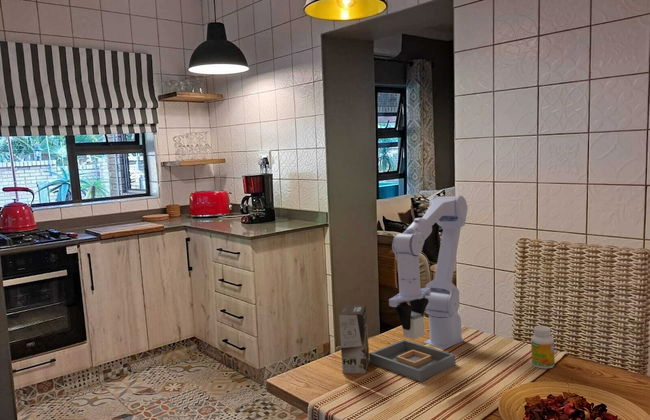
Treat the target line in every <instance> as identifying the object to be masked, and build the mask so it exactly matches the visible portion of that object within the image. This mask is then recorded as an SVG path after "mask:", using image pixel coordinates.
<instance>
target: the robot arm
mask: <svg viewBox="0 0 650 420" xmlns="http://www.w3.org/2000/svg"><path fill="white" fill-rule="evenodd" d="M428 202H429V203H428V209H427V210H426V212H425V213H424V214H423V215H422V217H415V218H414V219H413V222H411V224H410V225H409V226H408V227H407V228H406V229H405V230H404V231H403V232H402V233H401V232H399V233H397V234H396V235H395V236H394V237H393V240H392V244H391V249H392V252H393V253H394V257H395V258H394V259H395V261H396V262H397V274H398V278H397V279H398V290H399V291H398V292H399V293H397V294H396V295H394V296H393V297H391V298H389V299H388V307H392V308H393V309H394V310H395V312H396V313H397V315H398V318H399V320H400V324H401V327H402V330H403V329H406V330H410V326H411V312H416V313H420V314H421V315H422V316H423V317H424V315H425V314H427V315H428V326H429V327H428V329H429V339H426V340H424V341H423V343H424V344H425V345H426V344H427V345H430V346H433V347H437V348H440V349H443V350H445V349H448V348H450V347H452V346H454V345H457V344H459V343H461V342H464V341H465V338H463V335H462V333H463V332H462V319H461V316H460V314H459V313H458V310H459V308H460V302H461V301H460V289H459V288H458V287H457V285H455V284H454V283H453V277H454V271H455V266H456V265H455V264H456V259H457V254H458V253H457V252H458V247H459V242H460V241H459V240H460V235H461V230H462V227H463V226H465V225H466V220H467V215H468V204H467V200H466V198H465V197H464V196H463V195H457V196H456V195H455V196H438V195H434V196H433V197H432V198H431V199H430V200H429V201H428ZM435 224H437V225H438V226H439V227H441V228H442V234H441V240H440V246H439V251H438V256H437V257H438V258H437V262H436V269H435V274H434V279H433V280H431V281H430V282H428V283H426V285H425V287H423V288H421V271H420V254H422V252H423V247H424V244H425V240H426V239H427V238H428V237H429V236H430V235H431V233H432V232H433V227H432V226H434V225H435ZM408 302H409V303H410V304H409V303H408ZM424 313H425V314H424Z"/></svg>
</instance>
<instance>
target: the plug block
mask: <svg viewBox="0 0 650 420" xmlns="http://www.w3.org/2000/svg"><path fill="white" fill-rule="evenodd" d="M402 332H403V334H402V335H403V337H406V338H409V339H412V340H417V339H419V338H421V337H424V336H425V319H424V315H423V316H422V315H421V314H420V313H416V312H411V326H410V330H406V329H403V328H402Z"/></svg>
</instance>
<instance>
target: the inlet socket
mask: <svg viewBox="0 0 650 420" xmlns="http://www.w3.org/2000/svg"><path fill="white" fill-rule="evenodd" d="M412 355H415V356H418V357H421V358H422V359H420V360H417V361H415V362H414V361H411V360H408V359H405V358H407V357H409V356H412ZM430 360H432V357H431V355H428V354H425V353H422V352H419V351H416V350H411V351H408V352H406V353H403V354H401V355H399V356H396V361H399V362H401V363H404V364H407V365H410V366H413V367H417V366H419V365H421V364H424V363H426V362H428V361H430Z"/></svg>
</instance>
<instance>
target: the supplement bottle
mask: <svg viewBox="0 0 650 420" xmlns="http://www.w3.org/2000/svg"><path fill="white" fill-rule="evenodd" d="M551 334H552V332H551V328H550V327H548V326H547V325H535V326H534V327H533V334H532V336H531V337H530V344H531V345H530V346H531V347H530V349H531V350H530V351H531V364H532V365H533V367H536V368H538V369H552V368H554V366H555V364H556V363H555V339H554V337H553V336H552V335H551Z"/></svg>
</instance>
